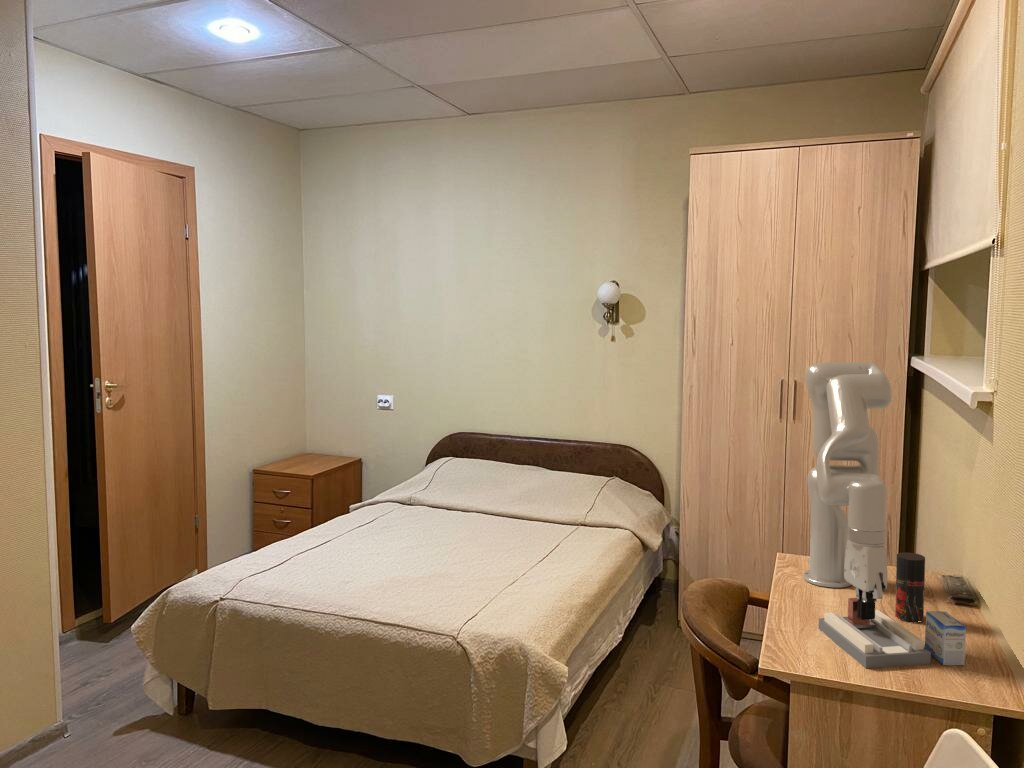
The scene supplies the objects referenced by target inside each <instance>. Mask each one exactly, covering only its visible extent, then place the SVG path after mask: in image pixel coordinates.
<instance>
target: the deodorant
mask: <svg viewBox="0 0 1024 768" xmlns="http://www.w3.org/2000/svg"><path fill="white" fill-rule="evenodd" d="M895 568H896V574H895V607H894V608H895V609H894V610H895V611H894V612H895V613H894V616H895V618H896V617H897V618H898V619H897V618H896V619H897V620H899V619H900V620H899V621H902V622H905V621H906V622H905V623H910V622H918V621H922V620H923V621H924V617H925V615H924V612H925V610H924V609H925V604H924V603H925V578H926V577H925V574H926V572H925V571H926V557H925V556H924V555H922V554H920V553H914V552H908V551H907V552H898V553H897V554H896V567H895ZM923 621H922V622H923Z"/></svg>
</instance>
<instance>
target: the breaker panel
mask: <svg viewBox="0 0 1024 768" xmlns="http://www.w3.org/2000/svg"><path fill="white" fill-rule="evenodd" d="M843 617H844V616H841V615H840V614H839V613H833V612H825V613H824V617H820V618H819V617H818V630H819V629H820V630H819V631H821V632H822V631H823V632H824V633H825V634H826V635H825V634H824V633H823V632H822V633H823V634H824V635H825V636H827V637H828V638H829V639H830V638H831V639H832V642H834V643H835V644H836V645H837V646H839V648H840V649H842V650H843V651H844V652H846V653H847V654H848V655H850V656H851V657H852V658H853V659H854V660H855V661H857V663H859V664H860V665H861V666H862V667H864V668H865V669H874V668H889V667H890V668H891V667H906V666H919V665H920V666H921V665H931V661H932V660H931V657H932V655H931V652H930V651H928V650H927V649H925V640H923V639H922V638H920V637H918V636H917V635H916V634H915V633H912V632H911V631H909V629H908V628H907V629H906V628H905V627H904V626H902V625H901V624H899V623H898V622H897V621H894V620H893V619H892V618H890V617H889V616H888V615H886V614H884V613H883V612H881V611H880V610H879V609H875V619H870V621H871V622H872V623H874V624H875V627H872V628H856V627H855V626H853V625H852V624H851V623H849V622H848V621H847V620H845V619H844V618H843ZM831 639H830V640H831Z"/></svg>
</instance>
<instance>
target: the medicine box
mask: <svg viewBox="0 0 1024 768" xmlns="http://www.w3.org/2000/svg"><path fill="white" fill-rule="evenodd" d="M966 631H967V627H966V625H965V624H963V623H962V622H960V621H959V620H958V619H956V618H955V617H954V616H952V615H951V614H950V613H948V612H947V611H941V610H938V611H937V610H936V611H935V610H929V611H926V613H925V631H924V633H925V634H924V648H925V649H927V650H928V651H930V652H931V657H933V658H934V659H935V660H937V661H938V662H939V663H940V664H941V665H942V666H944V665H963V666H965V659H966V639H967V638H966V634H967V632H966Z"/></svg>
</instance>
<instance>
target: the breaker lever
mask: <svg viewBox="0 0 1024 768" xmlns="http://www.w3.org/2000/svg"><path fill="white" fill-rule="evenodd" d="M847 600H848V601H847V616H842V617H843V618H844V619H845V620H847V621H848V622H849V623H851V624H852V625H853V626H855V627H856V628H872V627H875V624H874V623H872V622H871V621H870V619H868V620H862V619H861V618H859V617H858V616H857V604H858V600H859V599H857V597H849V598H848V599H847Z"/></svg>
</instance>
